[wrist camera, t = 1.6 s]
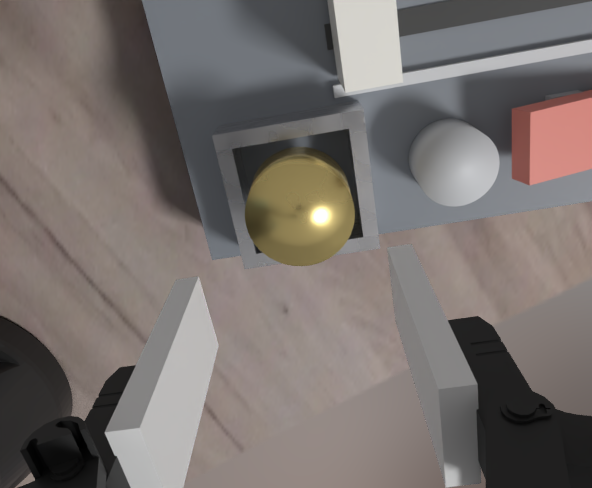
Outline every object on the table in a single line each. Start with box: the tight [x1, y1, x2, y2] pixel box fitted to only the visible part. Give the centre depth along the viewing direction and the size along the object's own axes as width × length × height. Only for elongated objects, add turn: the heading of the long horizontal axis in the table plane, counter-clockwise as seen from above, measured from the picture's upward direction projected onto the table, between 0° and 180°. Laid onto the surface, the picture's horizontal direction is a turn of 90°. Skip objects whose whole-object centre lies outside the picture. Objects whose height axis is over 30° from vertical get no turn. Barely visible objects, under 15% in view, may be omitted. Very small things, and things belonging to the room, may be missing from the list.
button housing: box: [212, 101, 380, 269], centre depth 27 cm, size 7×7×2 cm
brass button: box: [245, 147, 355, 266], centre depth 25 cm, size 5×5×3 cm
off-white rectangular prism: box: [327, 0, 403, 93], centre depth 23 cm, size 2×4×5 cm, turn 10°
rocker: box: [512, 90, 592, 185], centre depth 26 cm, size 6×4×1 cm, turn 100°
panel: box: [142, 0, 592, 260], centre depth 27 cm, size 24×15×6 cm, turn 100°
